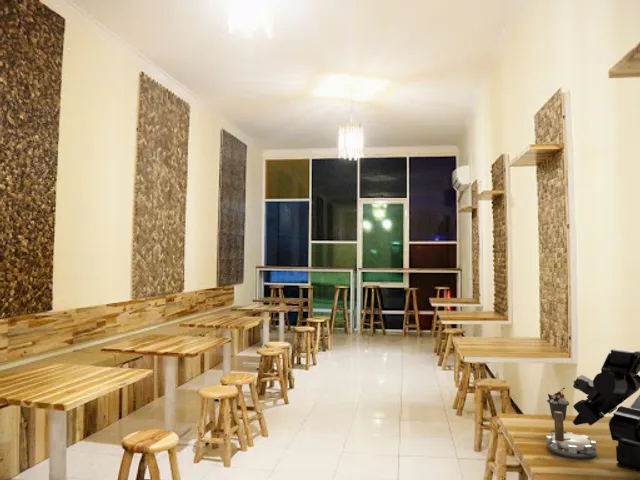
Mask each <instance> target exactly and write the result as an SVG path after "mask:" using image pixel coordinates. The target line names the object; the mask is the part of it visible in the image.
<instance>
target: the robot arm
mask: <svg viewBox="0 0 640 480" xmlns="http://www.w3.org/2000/svg"><path fill="white" fill-rule="evenodd" d="M604 360H605V361H604V362H603V364H602V367H601V369H600V370H601V372H599V373H597V374H596V375H595V376H594V378H593V380H592V379H591V378H589V377H587V376H585V375H583V374H582V375H579V376H577V377H576V379H575V380H573V385H572V386H573V388H574V389H576V390H579V391H580V392H582V393H584V394H585V395H587V396H586V398H587V399H580V400H578V401H577V402H576V403H574V404H573V406H572V407H573V409H574V410H575V411H576V412H577V415H576V417H575V418H574V419H573V421H572V423H573V425H574V426H579V425H585V424H588V425H589V426H592V425H594V424H596V423H597V422H598V421H600V420H601V419H604V418H605V415H607V414H609V415H610V414H611V413H612V414H613V415H612V417H611V418H610V419H609V422H608V429H609V431H610V433H609V434H610V437H611V440H612V441H616V442H617V445H615V454H616V461H617V463H616V466H617V467H621V468H625V469H629V470H630V469H631V470H634V471H638V472H640V394H638V396H637V398H635V401H633V403H632V404H631V405H630V407H626V406H623V405H621V404H622V403H624V402H625V401H626V400H627V399H628V398H630V397H631V396H632V395H634V394H636V392H638V391H639V390H640V374H639V372H640V350H638V351H635V350H629V349H621V348H620V349H619V348H612V349H611V350H610V352H608V354H607V356H606V358H605V359H604ZM619 405H621V406H619ZM618 406H619V407H618ZM614 411H615V412H614Z"/></svg>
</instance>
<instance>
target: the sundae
mask: <svg viewBox="0 0 640 480" xmlns="http://www.w3.org/2000/svg"><path fill="white" fill-rule="evenodd" d="M564 390H566V387H563V388H561V389H560V390H559V391H557V392H555V393H553V394H550V393H547V397H548V399H547V400H546V402H547V403H548V404H549V410H550V415H551V418H552V419H553V420H554V412H555V411H558V412H562V413H563V422H564V421H565V420H566V416H567V408H568V406H569V405H570V402H569V401H568V400H567V398H566V397H565V394H564V393H563V391H564ZM552 432H555V429H551V431H550V434H551V433H552ZM566 432H567V431H565V430H564V433H566Z"/></svg>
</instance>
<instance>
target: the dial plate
mask: <svg viewBox="0 0 640 480" xmlns="http://www.w3.org/2000/svg"><path fill="white" fill-rule="evenodd" d="M565 432H566V433H567V434H574V432H571V431H565ZM553 435H555V432H552V433H551V432H550V435H546V448H547V450H548V451H549V452H550V451H551V452H550V453H552V454H554V455H556V456H560V457H562V458H566V459H567V458H568V459H571V460H572V459H573V460H590V459H593V458H595V457H597V443H596V440H590V439H591V437H590V436H588V435H585V434H583V435H582V434H581V435H580V436H582V437H585V438H587V439H588V440H589V441H590V445H585V446H584V451H577V448H576V446H573V445H568V450H567V449H563V448H560V443H559V442H557V441H552V436H553Z"/></svg>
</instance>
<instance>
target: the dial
mask: <svg viewBox="0 0 640 480" xmlns="http://www.w3.org/2000/svg"><path fill="white" fill-rule="evenodd" d="M553 422H554V430H555V435H553V436H552V441H557V442H559V443H560V448H563V449H567V450H568V445H573V446H576V448H577V451H584V446H585V445H590V444H591V440H590V441H589V440H588V439H587V438H585V437H582V436H581V435H578V434H574V433H573V434H567V433H564V431H565V430H564V428H565V427H564V421H563V413H562V412H558V411H555V412H554V419H553Z"/></svg>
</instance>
